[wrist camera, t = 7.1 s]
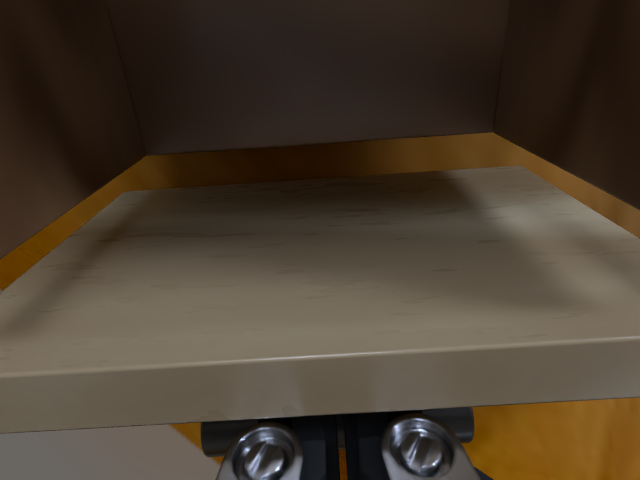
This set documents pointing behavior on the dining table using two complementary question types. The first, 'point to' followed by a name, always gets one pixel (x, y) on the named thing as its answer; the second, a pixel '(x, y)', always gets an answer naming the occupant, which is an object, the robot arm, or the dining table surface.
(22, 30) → the drawer
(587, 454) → the dining table surface
